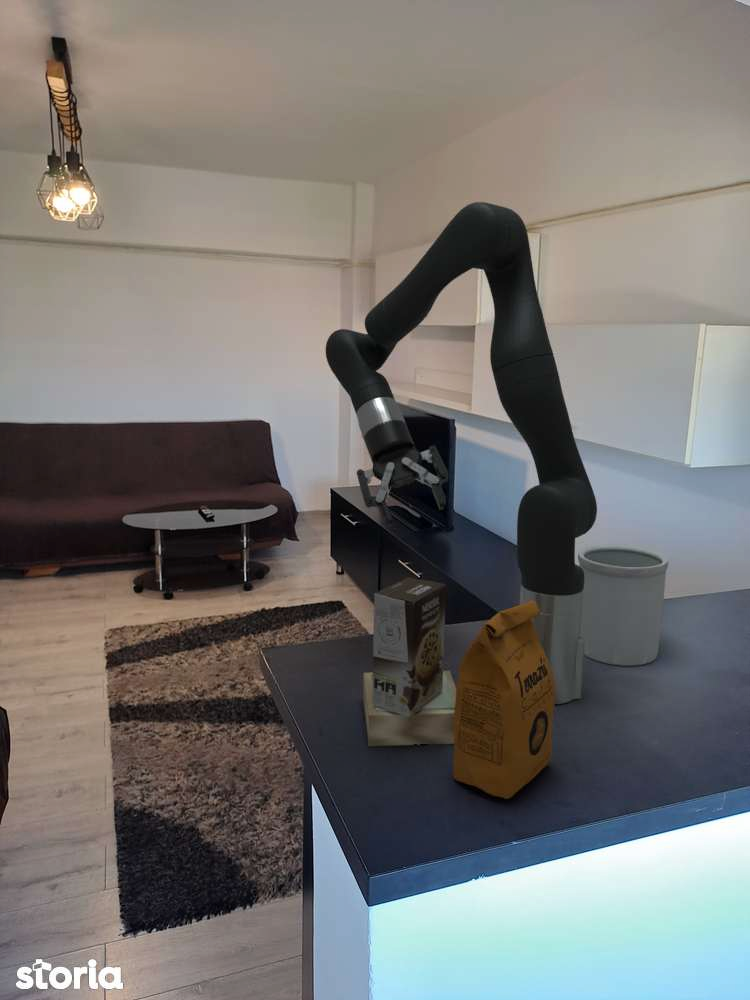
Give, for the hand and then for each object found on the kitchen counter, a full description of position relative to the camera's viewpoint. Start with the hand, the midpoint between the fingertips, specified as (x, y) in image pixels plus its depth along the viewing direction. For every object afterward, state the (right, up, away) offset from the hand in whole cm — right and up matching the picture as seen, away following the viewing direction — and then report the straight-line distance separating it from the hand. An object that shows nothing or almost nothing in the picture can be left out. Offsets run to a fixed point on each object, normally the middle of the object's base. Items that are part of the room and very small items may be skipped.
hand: (416, 516), depth 119 cm
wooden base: (-1, -29, -12) cm, 32 cm away
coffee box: (-2, -25, -16) cm, 30 cm away
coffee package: (+10, -32, -25) cm, 42 cm away
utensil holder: (+36, -24, +13) cm, 45 cm away
